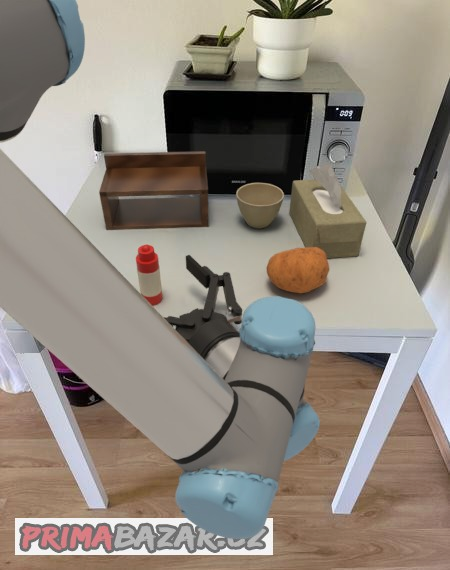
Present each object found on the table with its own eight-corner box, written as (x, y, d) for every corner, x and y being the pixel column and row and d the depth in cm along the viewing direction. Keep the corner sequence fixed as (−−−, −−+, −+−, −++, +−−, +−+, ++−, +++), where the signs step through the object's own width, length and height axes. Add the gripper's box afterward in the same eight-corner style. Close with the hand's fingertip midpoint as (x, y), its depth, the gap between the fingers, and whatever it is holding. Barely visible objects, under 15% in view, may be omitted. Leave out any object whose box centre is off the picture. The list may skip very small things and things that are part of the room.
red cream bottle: (140, 306, 76) (132, 252, 69) (142, 292, 79) (134, 239, 72) (162, 305, 77) (156, 251, 69) (163, 291, 79) (157, 238, 72)
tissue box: (288, 212, 101) (296, 145, 91) (329, 209, 102) (341, 143, 92) (311, 260, 87) (323, 187, 77) (359, 257, 88) (377, 184, 78)
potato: (330, 303, 77) (337, 269, 73) (266, 301, 78) (269, 267, 73) (322, 270, 84) (328, 238, 80) (263, 269, 85) (266, 236, 80)
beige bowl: (242, 208, 102) (243, 179, 98) (284, 215, 100) (288, 186, 96) (229, 230, 95) (230, 200, 90) (275, 238, 93) (278, 208, 88)
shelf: (106, 229, 95) (96, 178, 87) (112, 202, 104) (104, 153, 96) (208, 226, 96) (207, 175, 88) (206, 199, 105) (205, 151, 98)
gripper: (142, 417, 57) (83, 320, 70) (291, 338, 68) (215, 267, 81) (135, 380, 52) (73, 284, 65) (296, 302, 63) (215, 233, 76)
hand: (152, 274), depth 73 cm, fingers open, 13 cm apart
